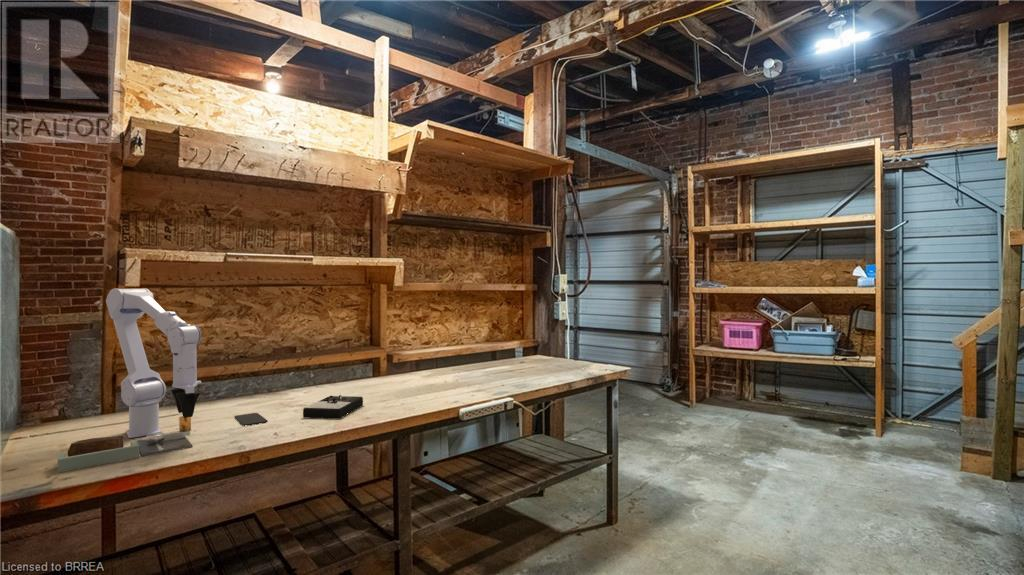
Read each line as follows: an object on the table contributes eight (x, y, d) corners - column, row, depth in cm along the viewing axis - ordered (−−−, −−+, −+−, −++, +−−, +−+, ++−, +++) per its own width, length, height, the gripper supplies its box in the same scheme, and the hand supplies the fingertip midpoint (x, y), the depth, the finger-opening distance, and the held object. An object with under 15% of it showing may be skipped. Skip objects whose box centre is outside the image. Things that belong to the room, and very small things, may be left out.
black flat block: (363, 406, 185) (363, 392, 185) (339, 420, 166) (339, 405, 166) (329, 405, 187) (329, 392, 187) (302, 419, 168) (302, 404, 168)
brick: (123, 452, 134) (123, 434, 134) (118, 457, 130) (118, 439, 130) (74, 457, 130) (74, 439, 130) (67, 462, 126) (66, 444, 126)
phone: (257, 412, 174) (268, 420, 162) (257, 414, 174) (268, 423, 162) (233, 415, 169) (243, 424, 157) (233, 418, 169) (243, 427, 157)
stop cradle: (57, 466, 123) (57, 453, 123) (136, 451, 133) (136, 440, 133) (57, 472, 119) (57, 459, 119) (139, 457, 129) (139, 445, 129)
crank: (147, 443, 137) (147, 424, 137) (145, 440, 140) (145, 421, 140) (192, 436, 144) (192, 417, 144) (189, 432, 147) (189, 414, 147)
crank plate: (135, 443, 141) (135, 440, 141) (181, 435, 148) (181, 432, 148) (142, 456, 130) (142, 453, 130) (192, 447, 137) (192, 444, 137)
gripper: (206, 368, 142) (206, 416, 142) (195, 363, 153) (196, 407, 153) (176, 371, 137) (177, 421, 137) (168, 366, 148) (168, 411, 148)
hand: (185, 414), depth 144 cm, fingers open, 7 cm apart
